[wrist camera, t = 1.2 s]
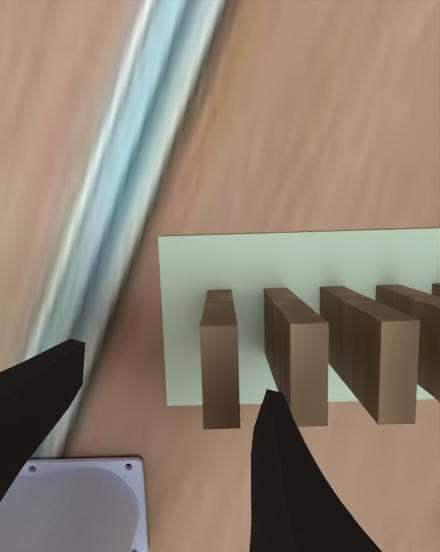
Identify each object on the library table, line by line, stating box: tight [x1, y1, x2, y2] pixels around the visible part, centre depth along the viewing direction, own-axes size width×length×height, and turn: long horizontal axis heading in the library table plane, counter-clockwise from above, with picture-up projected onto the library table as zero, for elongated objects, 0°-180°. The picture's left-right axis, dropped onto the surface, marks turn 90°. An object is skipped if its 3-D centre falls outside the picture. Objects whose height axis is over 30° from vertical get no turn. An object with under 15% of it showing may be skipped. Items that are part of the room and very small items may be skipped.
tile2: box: [264, 288, 329, 427], centre depth 19 cm, size 2×5×9 cm, turn 1°
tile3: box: [319, 286, 420, 425], centre depth 19 cm, size 2×5×9 cm, turn 2°
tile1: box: [200, 289, 240, 429], centre depth 19 cm, size 2×5×9 cm, turn 2°
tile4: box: [375, 285, 440, 402], centre depth 19 cm, size 2×5×9 cm, turn 1°
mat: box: [158, 228, 440, 406], centre depth 24 cm, size 28×12×1 cm, turn 92°
